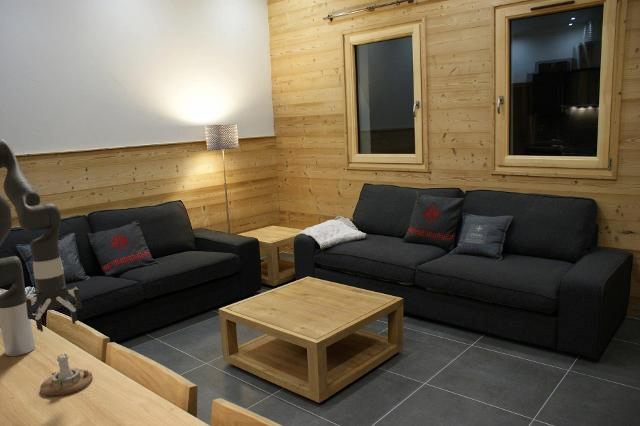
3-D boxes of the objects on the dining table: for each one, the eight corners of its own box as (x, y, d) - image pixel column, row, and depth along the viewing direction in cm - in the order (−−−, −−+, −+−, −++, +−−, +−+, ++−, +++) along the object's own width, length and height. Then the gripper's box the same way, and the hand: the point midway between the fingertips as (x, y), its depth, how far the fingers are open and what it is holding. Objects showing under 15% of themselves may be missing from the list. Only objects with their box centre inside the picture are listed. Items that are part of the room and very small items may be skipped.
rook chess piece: (78, 377, 162) (73, 352, 160) (66, 385, 157) (62, 359, 156) (66, 376, 163) (62, 351, 162) (54, 383, 159) (50, 358, 157)
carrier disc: (39, 382, 163) (37, 372, 162) (88, 368, 170) (87, 359, 169) (42, 402, 151) (40, 391, 150) (95, 386, 158) (94, 376, 157)
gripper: (74, 265, 161) (82, 317, 164) (20, 275, 154) (29, 329, 157) (77, 271, 155) (85, 324, 158) (21, 282, 148) (31, 337, 151)
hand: (57, 326), depth 157 cm, fingers open, 8 cm apart
